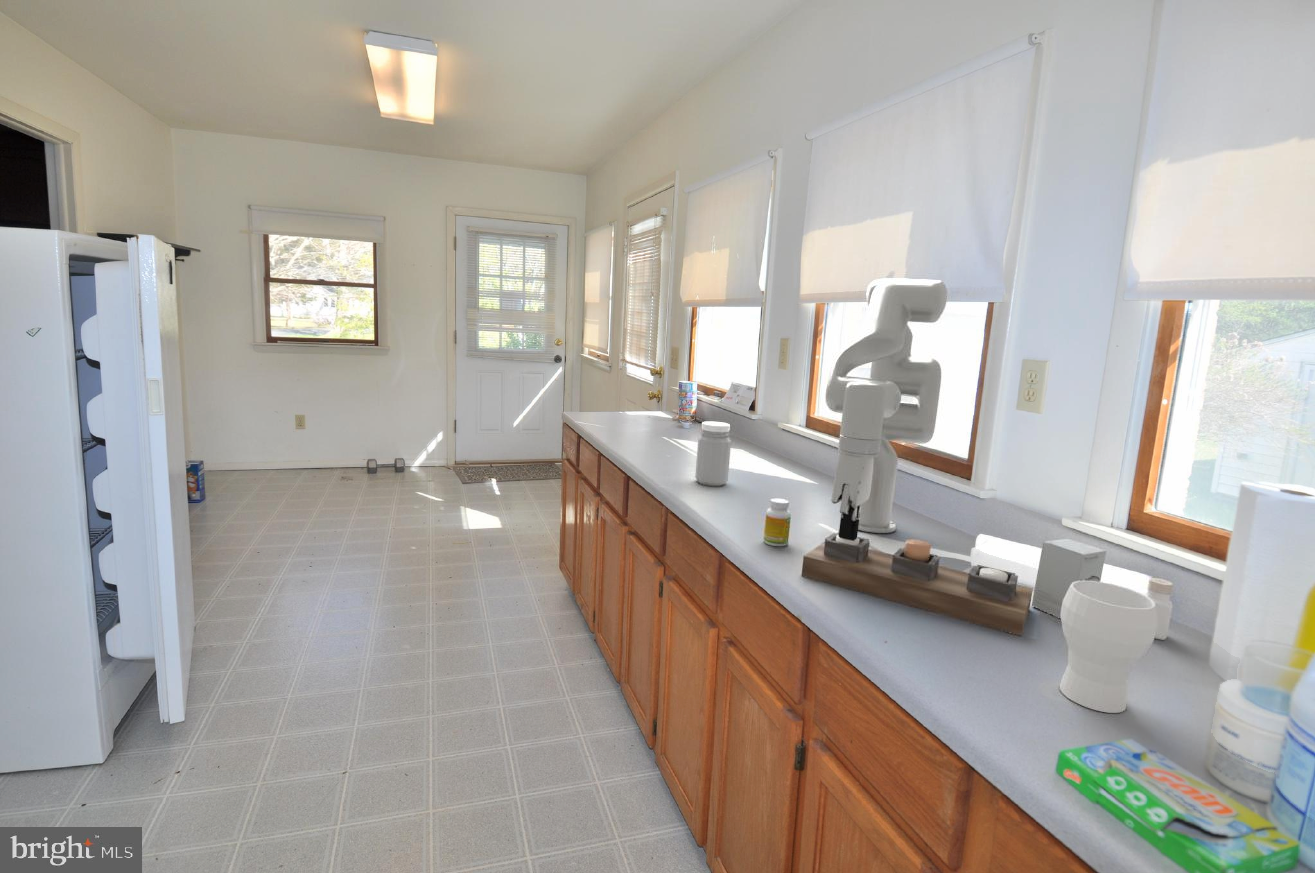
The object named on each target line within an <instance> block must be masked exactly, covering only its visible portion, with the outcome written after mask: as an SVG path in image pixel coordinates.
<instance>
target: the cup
mask: <svg viewBox="0 0 1315 873" xmlns="http://www.w3.org/2000/svg"><path fill="white" fill-rule="evenodd" d="M1145 595H1146V594H1143V593H1141V592H1138V591H1136V590H1133V589H1130V588H1129V587H1124V586H1122V585H1117V584H1113V583H1108V582H1104V581H1100V582H1097V581H1076V582H1073V583H1072V584H1071V585H1070V587H1069V589H1068V591H1067V593H1066V595H1065V597H1064V599H1063V602H1062V608H1061V614H1060V615H1061V619H1060V620H1061V627H1062V628H1061V629H1062V633H1063V636H1064V638H1065V641H1066V644H1067V646H1068V654H1067V655H1068V656H1067V658H1068V659H1067V660H1068V661H1067V664H1068V665H1067V666H1066V668H1065V670H1064V673H1063V675H1062V677H1061V681H1060V684H1059V690H1060V692H1061V693H1062V695H1064V696H1065V697H1066V698H1068V699H1069V700H1070V701H1072V702H1074V703H1076V704H1078V705H1080V706H1082V707H1085V708H1088V709H1090V710H1094V711H1096V712H1097V711H1098V712H1102V713H1103V712H1104V713H1107V714H1109V713H1110V714H1118V713H1119V714H1120V713H1123V712H1124V711H1126V708H1127V703H1128V702H1127V700H1128V699H1127V698H1128V697H1127V696H1128V695H1127V694H1128V693H1127V690H1128V689H1127V687H1128V686H1127V683H1128V682H1127V681H1128V678H1129V677H1130V673H1131V670H1132V668H1133V666H1135V665H1136V664H1137V663H1138V662H1139V661H1140V660H1141V659H1142V658H1143V657H1144V656H1145V655H1146V653H1147V652H1148V650H1149V648H1150V647H1151V645H1152V644H1153V643H1154V640H1155V638H1154V637H1155V633H1156V628H1157V614H1156V605H1155V603H1154V601H1153V600H1151V599H1150V598H1149V597H1147V596H1145Z"/></svg>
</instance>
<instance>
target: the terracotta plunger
mask: <svg viewBox="0 0 1315 873" xmlns="http://www.w3.org/2000/svg"><path fill="white" fill-rule="evenodd" d="M931 547H932V545H931V543H929V542H926V541H924V540H920V539H913V538H911V539H906V540H905V543H904V548H905V550H904V558H908V559H912V560H916V561H920V562H924V563H927V562H929V556H930V554H931Z"/></svg>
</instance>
